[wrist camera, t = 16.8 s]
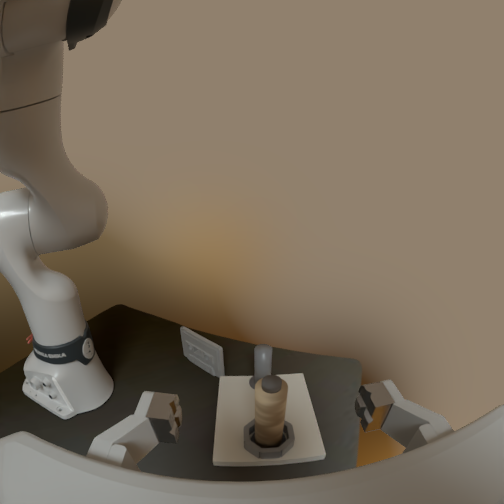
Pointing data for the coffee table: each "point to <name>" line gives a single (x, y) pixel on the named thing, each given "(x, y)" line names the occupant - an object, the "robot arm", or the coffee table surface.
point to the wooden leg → (270, 411)
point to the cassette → (203, 352)
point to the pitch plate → (245, 413)
